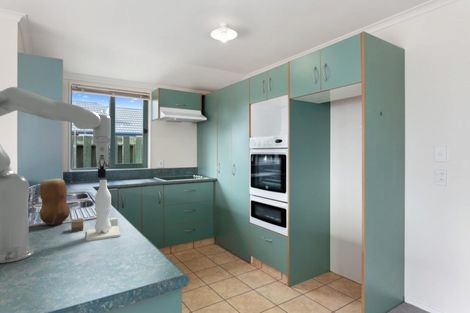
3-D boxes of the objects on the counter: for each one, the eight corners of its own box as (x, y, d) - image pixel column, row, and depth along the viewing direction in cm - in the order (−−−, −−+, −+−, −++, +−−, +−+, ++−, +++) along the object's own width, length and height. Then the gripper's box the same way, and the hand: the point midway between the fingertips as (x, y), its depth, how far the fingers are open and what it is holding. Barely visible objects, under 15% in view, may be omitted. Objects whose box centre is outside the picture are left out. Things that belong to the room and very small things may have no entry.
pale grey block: (117, 226, 143) (117, 218, 143) (109, 227, 141) (109, 219, 141) (117, 224, 146) (117, 217, 146) (109, 225, 144) (108, 218, 144)
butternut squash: (50, 221, 152) (49, 177, 152) (74, 220, 153) (73, 177, 153) (33, 228, 139) (32, 180, 138) (60, 227, 140) (59, 179, 139)
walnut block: (83, 230, 135) (82, 220, 135) (71, 232, 133) (71, 222, 133) (83, 228, 139) (83, 218, 139) (72, 229, 137) (72, 219, 137)
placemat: (120, 236, 126) (120, 234, 126) (86, 241, 119) (86, 239, 119) (118, 227, 140) (117, 225, 140) (87, 231, 134) (87, 229, 134)
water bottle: (92, 234, 125) (93, 180, 125) (96, 230, 132) (96, 179, 132) (109, 233, 127) (110, 180, 127) (112, 229, 134) (112, 179, 134)
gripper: (111, 140, 122) (111, 178, 123) (109, 141, 138) (109, 175, 138) (92, 140, 119) (92, 178, 119) (93, 141, 134) (93, 175, 135)
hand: (101, 176), depth 129 cm, fingers open, 9 cm apart
